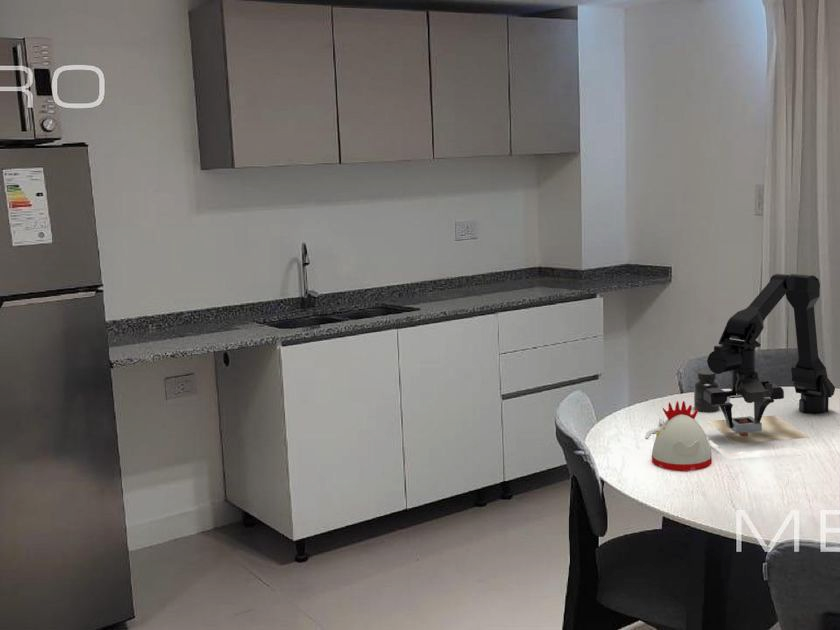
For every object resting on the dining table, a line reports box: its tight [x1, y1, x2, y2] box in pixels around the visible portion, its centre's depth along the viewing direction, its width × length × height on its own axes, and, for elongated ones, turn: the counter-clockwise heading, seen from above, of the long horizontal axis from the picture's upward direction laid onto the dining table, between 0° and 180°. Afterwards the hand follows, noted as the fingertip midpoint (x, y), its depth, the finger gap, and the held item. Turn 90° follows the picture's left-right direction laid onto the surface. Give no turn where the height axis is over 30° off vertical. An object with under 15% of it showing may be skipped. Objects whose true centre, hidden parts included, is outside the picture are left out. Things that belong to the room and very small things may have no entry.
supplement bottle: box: [693, 370, 721, 414], centre depth 266 cm, size 7×7×12 cm
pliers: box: [645, 418, 665, 440], centre depth 254 cm, size 10×2×15 cm
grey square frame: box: [726, 415, 762, 433], centre depth 241 cm, size 6×6×2 cm
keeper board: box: [705, 415, 810, 444], centre depth 246 cm, size 19×20×6 cm
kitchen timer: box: [651, 400, 712, 472], centre depth 229 cm, size 14×14×15 cm
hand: (743, 426), depth 241 cm, fingers closed on grey square frame, 6 cm apart
